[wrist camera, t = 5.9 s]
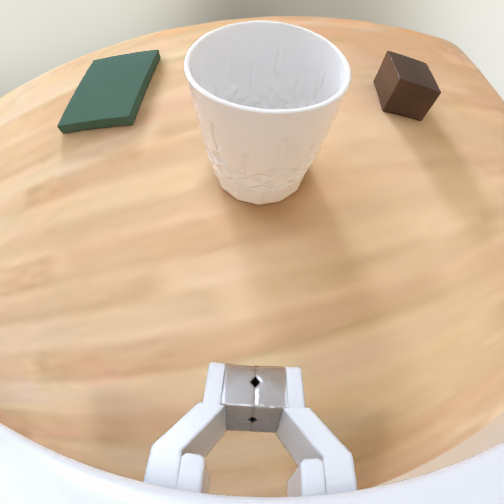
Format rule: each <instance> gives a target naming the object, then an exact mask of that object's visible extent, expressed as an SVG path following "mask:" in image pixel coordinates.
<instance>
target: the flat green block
mask: <svg viewBox="0 0 504 504" xmlns="http://www.w3.org/2000/svg"><path fill="white" fill-rule="evenodd" d="M159 59H160V54H159V50H151V51H143V52H136V53H130V54H124V55H118V56H113V57H108V58H103V59H98V60H94V61H93V62H92V64H91V66H90V67H89V69H88V70H87V72H86V74H85V75H84V77H83V79H82V80H81V82H80V84H79V86H78V87H77V89H76V91H75V93H74V95H73V96H72V98H71V100H70V102H69V104H68V106H67V108H66V110H65V112H64V114H63V116H62V118H61V120H60V122H59V124H58V126H57V127H58V128H59V129H60V131H61V132H62V133H68V132H74V131H81V130H88V129H96V128H104V127H114V126H124V125H133V123H134V120H135V118H136V115H137V112H138V110H139V107H140V104H141V102H142V99H143V97H144V94H145V92H146V89H147V87H148V84H149V82H150V80H151V77H152V75H153V73H154V70H155V68H156V66H157V64H158V62H159Z"/></svg>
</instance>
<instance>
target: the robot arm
mask: <svg viewBox="0 0 504 504" xmlns="http://www.w3.org/2000/svg"><path fill="white" fill-rule="evenodd" d="M226 430H233V431H255V432H275V433H276V435H277V436H278V438H279V439H280V441H281V442H282V444H283V445H284V447H285V448H286V450H287V451H288V453H289V454H290V456H291V457H292V459H293V460H294V461H295V463H296V464H297V466H298V468H297V469H296V471H295V472H294V473H293V475H292V476H291V478H290V479H289V480H288V482H287V497H242V496H227V495H216V494H209V483H210V478H209V474H208V470H207V466H206V461H205V459H204V457H205V456H206V455H207V454H208V453H209V451H210V450H211V449H212V448H213V447H214V446H215V444H216V443H217V442H218V441H219V440H220V438H221V437H222V436H223V435H224V433H225V432H226ZM0 504H504V442H502V443H500V444H498V445H496V446H494V447H492V448H490V449H488V450H486V451H483V452H481V453H479V454H477V455H475V456H472V457H470V458H467V459H465V460H463V461H460V462H458V463H455V464H452V465H450V466H447V467H445V468H442V469H439V470H436V471H433V472H430V473H427V474H423V475H420V476H417V477H414V478H410V479H406V480H402V481H398V482H394V483H390V484H386V485H381V486H377V487H372V488H366V489H361V490H357V483H356V475H355V469H354V462H353V456H352V453H351V452H350V451H349V450H348V449H347V448H346V447H345V446H344V445H343V444H342V443H341V442H340V441H339V440H338V438H337V437H336V436H335V435H334V434H333V433H332V432H331V431H330V430H329V429H328V428H327V426H326V425H325V424H324V423H323V422H322V421H321V420H320V419H319V418H318V416H317V415H316V414H315V413H314V412H313V411H312V410H311V408H306V407H305V397H304V388H303V379H302V370H301V368H300V367H280V366H245V365H234V364H225V363H214V362H210V365H209V369H208V374H207V380H206V386H205V392H204V398H203V403H200V402H198V403H197V404H196V405H195V406H194V407H193V408H192V409H191V410H190V411H189V412H188V413H187V414H186V415H185V416H183V417H182V418H181V419H180V420H179V421H178V422H177V423H176V424H175V425H174V426H173V427H172V428H171V429H169V430H168V431H167V432H166V433H165V434H164V435H163V436H162V437H161V438H160V439H158V440H157V441H156V442H155V443H154V444H153V445H152V447H151V451H150V455H149V459H148V464H147V468H146V472H145V477H144V481H143V482H141V481H137V480H133V479H130V478H126V477H123V476H119V475H116V474H113V473H109V472H106V471H103V470H100V469H97V468H94V467H92V466H89V465H86V464H83V463H81V462H78V461H76V460H73V459H71V458H68V457H66V456H64V455H61V454H59V453H57V452H54V451H52V450H50V449H48V448H46V447H44V446H42V445H40V444H38V443H36V442H34V441H32V440H30V439H28V438H26V437H24V436H22V435H20V434H19V433H17V432H15V431H13V430H12V429H10V428H8V427H6V426H5V425H3V424H1V423H0Z"/></svg>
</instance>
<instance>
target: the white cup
mask: <svg viewBox="0 0 504 504" xmlns="http://www.w3.org/2000/svg"><path fill="white" fill-rule="evenodd" d="M184 71H185V75H186V79H187V83H188V86H189V90H190V94H191V97H192V101H193V105H194V109H195V112H196V116H197V120H198V124H199V127H200V131H201V135H202V138H203V141H204V144H205V147H206V150H207V153H208V156H209V159H210V161H211V162H212V166H213V170H214V172H215V175H216V177H217V179H218V181H219V183H220V186H221V187H222V188H223V189H224V190H226V191H227V192H228V193H229V194H231V195H232V196H233V197H235V198H236V199H237V200H241V201H245V202H249V203H253V204H257V205H261V204H267V203H274V202H280V201H282V200H283V199H285V198H286V197H288V196H289V195H291V194H292V193H294V192H295V191H297V189H298V187H299V185H300V184H301V182H302V180H303V178H304V176H305V174H306V172H307V170H308V168H309V167H310V166H311V165H312V163H313V161H314V159H315V157H316V155H317V154H318V152H319V150H320V147H321V145H322V143H323V142H324V140H325V138H326V136H327V134H328V131H329V129H330V127H331V124H332V122H333V120H334V118H335V116H336V113H337V111H338V109H339V107H340V105H341V103H342V101H343V98H344V96H345V94H346V92H347V90H348V87H349V85H350V82H351V69H350V66H349V63H348V61H347V59H346V58H345V56H344V55H343V54H342V52H341V51H340V50H339V49H338V48H337V47H336V46H335V45H334V44H332V43H331V42H330V41H328V40H327V39H325V38H324V37H322V36H320V35H319V34H317V33H315V32H312V31H310V30H308V29H305V28H302V27H299V26H296V25H292V24H287V23H282V22H275V21H246V22H239V23H234V24H230V25H226V26H223V27H220V28H218V29H215V30H213V31H211V32H209V33H207V34H206V35H204V36H203V37H201V38H200V39H199V40H197V41H196V42H195V43H194V44H193V45H192V47H191V48H190V49H189V51H188V52H187V54H186V57H185V61H184Z"/></svg>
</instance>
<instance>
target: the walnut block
mask: <svg viewBox="0 0 504 504" xmlns="http://www.w3.org/2000/svg"><path fill="white" fill-rule="evenodd" d="M374 84H375V87H376V90H377V93H378V96H379V100H380V103H381V106H382V110H383V111H385V112H390V113H394V114H398V115H402V116H406V117H409V118H413V119H417V120H420V121H421V120H422V119H423V118H424V116H425V115H426V113H427V112H428V111H429V109H430V108H431V106H432V105H433V104H434V102H435V101H436V99H437V98H438V96H439V95H440V94H441V91H440V89H439V87H438V85H437V83H436V81H435V79H434V77H433V75H432V73H431V71H430V70H429V68H428V66H427V64H426V63H424V62H421V61H418V60H415V59H412V58H409V57H406V56H403V55H400V54H397V53H394V52H390V51H387V53H386V55H385V57H384V60H383V62H382V64H381V66H380V69H379V71H378V73H377V75H376V78H375V80H374Z"/></svg>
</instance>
